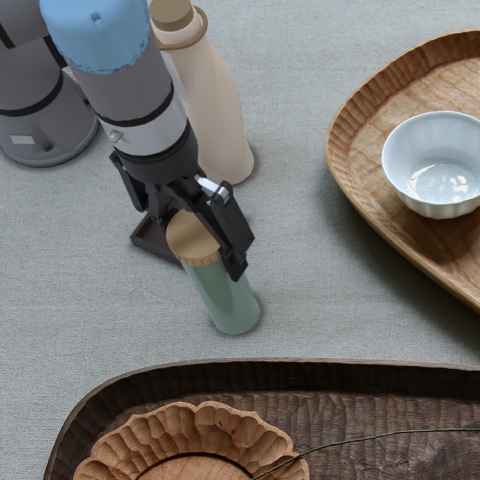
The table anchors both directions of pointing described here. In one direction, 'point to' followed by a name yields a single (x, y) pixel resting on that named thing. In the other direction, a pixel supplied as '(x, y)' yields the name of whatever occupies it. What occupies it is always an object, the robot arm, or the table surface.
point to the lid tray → (154, 236)
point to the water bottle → (203, 89)
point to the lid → (191, 240)
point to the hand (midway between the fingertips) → (212, 260)
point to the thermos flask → (225, 297)
